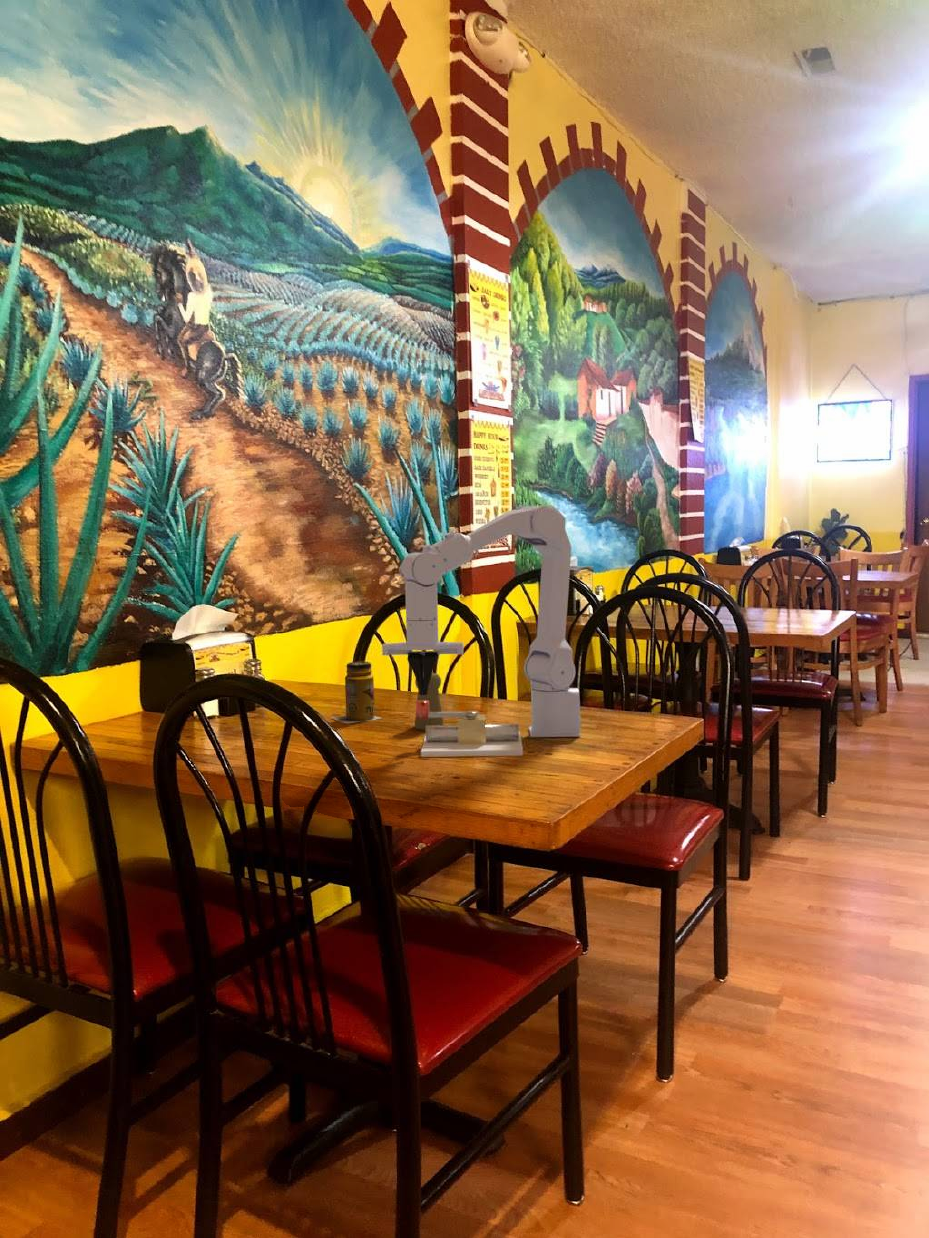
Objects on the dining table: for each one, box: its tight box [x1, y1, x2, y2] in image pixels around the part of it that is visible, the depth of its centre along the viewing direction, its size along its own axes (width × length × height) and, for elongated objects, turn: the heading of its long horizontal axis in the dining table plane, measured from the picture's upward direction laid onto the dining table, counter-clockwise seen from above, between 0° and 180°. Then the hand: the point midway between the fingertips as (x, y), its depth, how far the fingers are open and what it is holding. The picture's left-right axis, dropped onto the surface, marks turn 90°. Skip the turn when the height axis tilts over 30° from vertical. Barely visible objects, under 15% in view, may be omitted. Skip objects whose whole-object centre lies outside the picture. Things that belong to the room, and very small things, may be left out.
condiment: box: [331, 661, 382, 725], centre depth 205 cm, size 7×8×12 cm
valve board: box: [420, 731, 524, 758], centre depth 178 cm, size 18×15×1 cm
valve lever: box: [415, 700, 479, 719], centre depth 178 cm, size 11×2×3 cm, turn 87°
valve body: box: [425, 714, 520, 744], centre depth 178 cm, size 17×5×4 cm, turn 89°
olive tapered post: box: [413, 672, 445, 731], centre depth 196 cm, size 6×6×11 cm
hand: (424, 694), depth 175 cm, fingers closed
